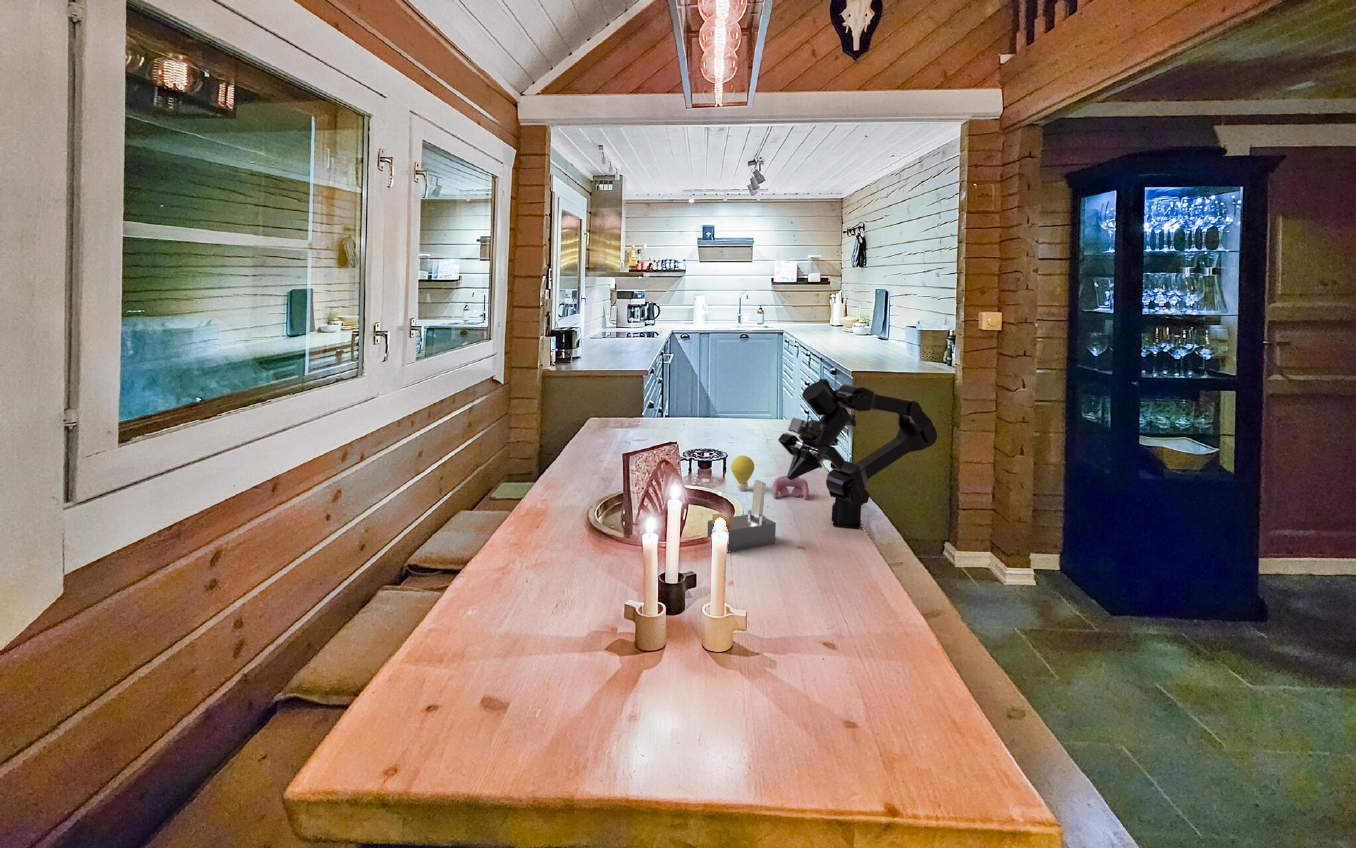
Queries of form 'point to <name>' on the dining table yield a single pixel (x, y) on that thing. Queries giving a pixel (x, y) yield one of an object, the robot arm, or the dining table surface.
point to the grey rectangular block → (746, 531)
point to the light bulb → (742, 471)
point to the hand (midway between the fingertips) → (788, 478)
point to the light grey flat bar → (758, 499)
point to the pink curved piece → (784, 482)
